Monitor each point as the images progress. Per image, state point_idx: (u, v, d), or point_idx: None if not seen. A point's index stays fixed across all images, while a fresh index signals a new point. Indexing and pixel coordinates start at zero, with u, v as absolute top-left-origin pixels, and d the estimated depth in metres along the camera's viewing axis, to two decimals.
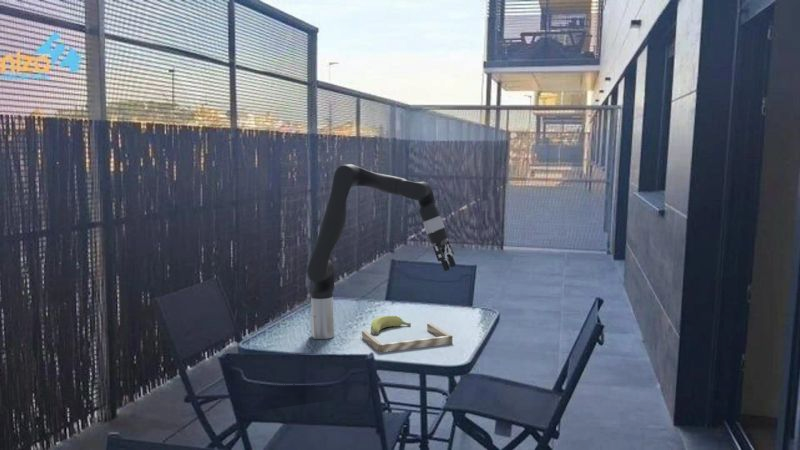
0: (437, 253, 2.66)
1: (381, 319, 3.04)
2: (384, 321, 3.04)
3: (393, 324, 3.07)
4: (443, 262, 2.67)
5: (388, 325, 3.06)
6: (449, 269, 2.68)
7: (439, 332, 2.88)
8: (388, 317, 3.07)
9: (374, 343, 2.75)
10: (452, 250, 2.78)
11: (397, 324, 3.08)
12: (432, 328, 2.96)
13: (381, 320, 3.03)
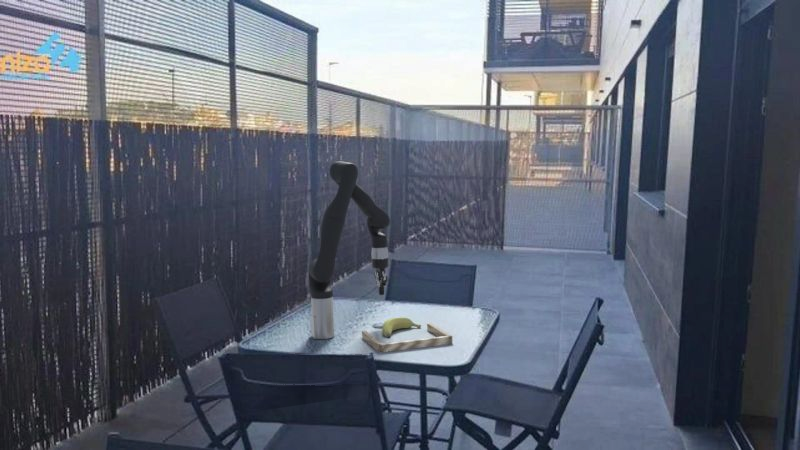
0: (383, 282, 3.10)
1: (392, 321, 2.99)
2: (395, 323, 3.00)
3: (403, 326, 3.04)
4: (382, 287, 3.13)
5: (399, 327, 3.02)
6: None
7: (439, 332, 2.88)
8: (398, 319, 3.03)
9: (374, 343, 2.75)
10: None
11: (407, 326, 3.04)
12: (432, 328, 2.96)
13: (392, 323, 2.99)
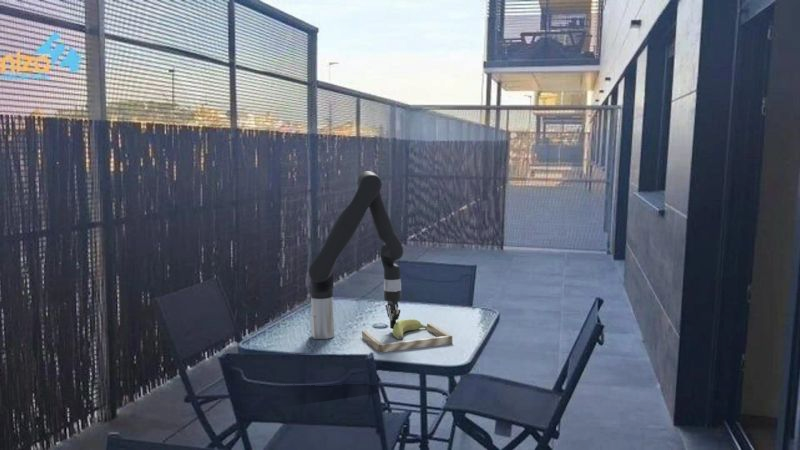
0: (395, 315, 2.95)
1: (402, 323, 2.96)
2: (405, 325, 2.96)
3: (413, 328, 3.00)
4: (394, 321, 2.98)
5: (408, 329, 2.99)
6: None
7: (439, 332, 2.88)
8: (408, 321, 2.99)
9: (374, 343, 2.75)
10: None
11: (416, 328, 3.01)
12: (432, 328, 2.96)
13: (403, 325, 2.95)
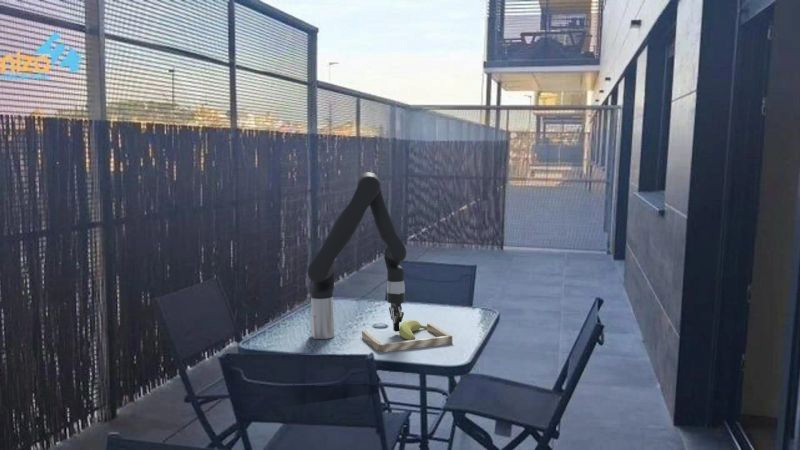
0: (399, 318, 2.90)
1: (408, 325, 2.93)
2: (410, 326, 2.94)
3: (414, 329, 2.99)
4: (397, 323, 2.94)
5: (411, 330, 2.97)
6: (398, 330, 2.96)
7: (439, 332, 2.88)
8: (410, 322, 2.97)
9: (374, 343, 2.75)
10: None
11: (417, 328, 3.00)
12: (432, 328, 2.96)
13: (409, 326, 2.92)
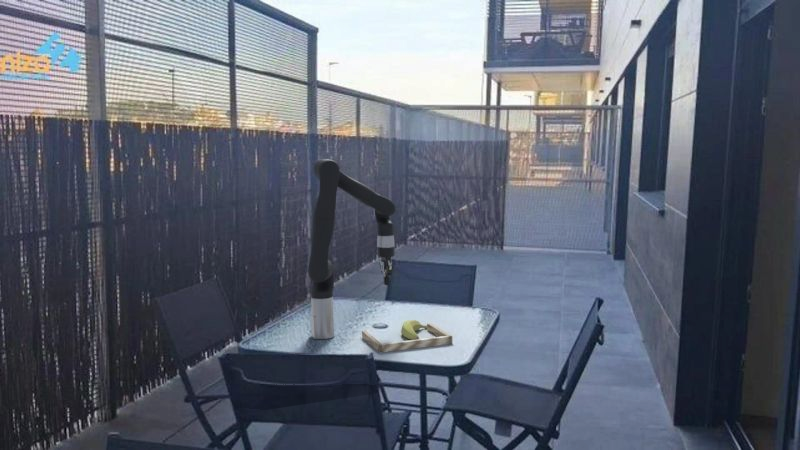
0: (388, 271, 2.99)
1: (410, 324, 2.93)
2: (412, 326, 2.94)
3: (415, 328, 2.99)
4: (387, 277, 3.02)
5: None
6: (388, 284, 3.04)
7: (439, 332, 2.88)
8: (411, 322, 2.97)
9: (374, 343, 2.75)
10: None
11: (418, 328, 3.00)
12: (432, 328, 2.96)
13: (411, 326, 2.92)
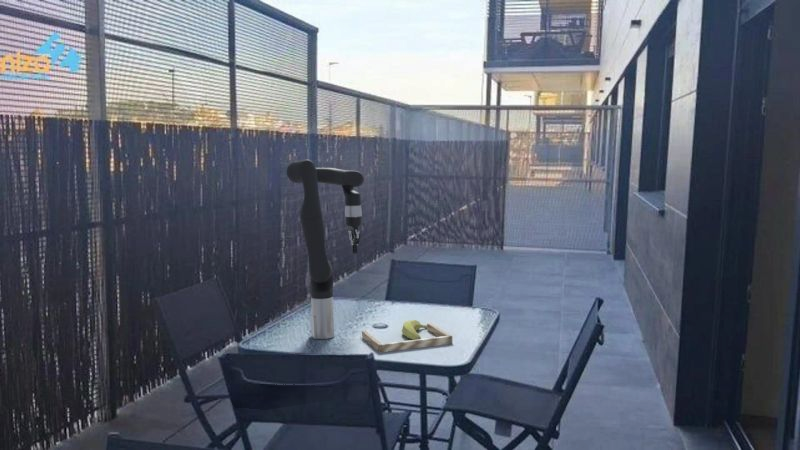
0: (356, 240, 3.10)
1: (411, 324, 2.93)
2: (413, 326, 2.94)
3: (416, 328, 2.99)
4: (355, 246, 3.14)
5: (413, 330, 2.97)
6: None
7: (439, 332, 2.88)
8: (412, 322, 2.97)
9: (374, 343, 2.75)
10: None
11: (418, 328, 3.01)
12: (432, 328, 2.96)
13: (412, 326, 2.92)
